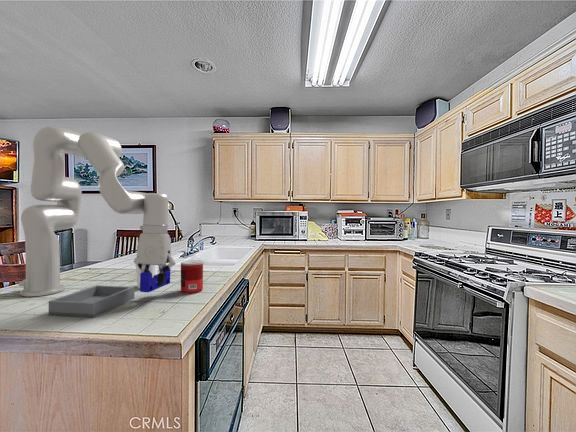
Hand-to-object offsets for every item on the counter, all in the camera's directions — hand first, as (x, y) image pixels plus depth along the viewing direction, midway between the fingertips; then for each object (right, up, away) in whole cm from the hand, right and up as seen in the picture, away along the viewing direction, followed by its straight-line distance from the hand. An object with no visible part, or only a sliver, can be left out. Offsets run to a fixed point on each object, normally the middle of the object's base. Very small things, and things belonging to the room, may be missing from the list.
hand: (153, 283), depth 100 cm
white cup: (-10, -5, +17) cm, 20 cm away
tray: (-15, -6, -7) cm, 18 cm away
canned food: (+9, -6, +11) cm, 15 cm away
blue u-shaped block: (0, -1, 0) cm, 1 cm away
